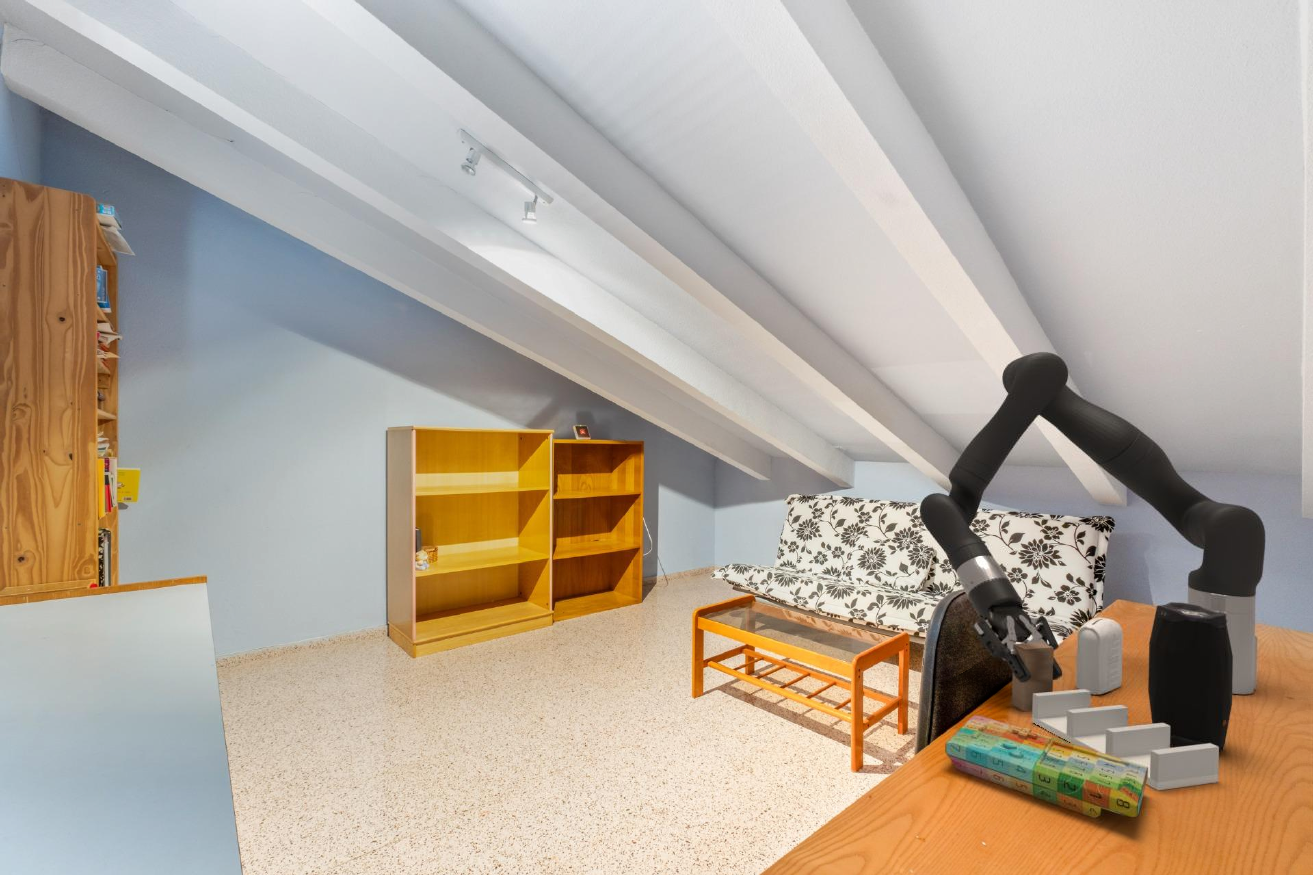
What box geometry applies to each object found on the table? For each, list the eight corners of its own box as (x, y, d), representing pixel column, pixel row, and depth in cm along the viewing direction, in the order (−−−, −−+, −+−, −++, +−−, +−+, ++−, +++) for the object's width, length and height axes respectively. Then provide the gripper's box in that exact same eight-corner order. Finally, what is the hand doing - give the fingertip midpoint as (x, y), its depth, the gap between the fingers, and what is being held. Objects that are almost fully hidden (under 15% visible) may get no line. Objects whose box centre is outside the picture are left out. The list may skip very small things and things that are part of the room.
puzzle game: (972, 709, 90) (1148, 759, 77) (972, 741, 90) (1147, 798, 77) (945, 736, 82) (1137, 798, 68) (944, 772, 82) (1136, 841, 68)
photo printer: (1097, 678, 116) (1099, 612, 116) (1125, 686, 113) (1126, 617, 113) (1072, 689, 110) (1073, 619, 110) (1099, 698, 107) (1101, 626, 107)
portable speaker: (1246, 758, 87) (1250, 617, 87) (1178, 756, 87) (1182, 615, 87) (1194, 729, 96) (1198, 601, 96) (1132, 727, 96) (1136, 599, 96)
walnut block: (1039, 702, 104) (1040, 642, 104) (1052, 708, 102) (1053, 647, 102) (1012, 705, 103) (1013, 644, 103) (1024, 711, 101) (1025, 649, 101)
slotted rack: (1084, 717, 99) (1084, 689, 99) (1218, 782, 80) (1218, 747, 80) (1032, 722, 96) (1032, 693, 96) (1157, 790, 78) (1158, 754, 78)
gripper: (964, 577, 108) (1019, 671, 96) (1033, 574, 112) (1093, 665, 100) (943, 600, 113) (991, 692, 102) (1009, 597, 117) (1063, 686, 105)
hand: (1042, 678), depth 101 cm, fingers closed on walnut block, 5 cm apart
